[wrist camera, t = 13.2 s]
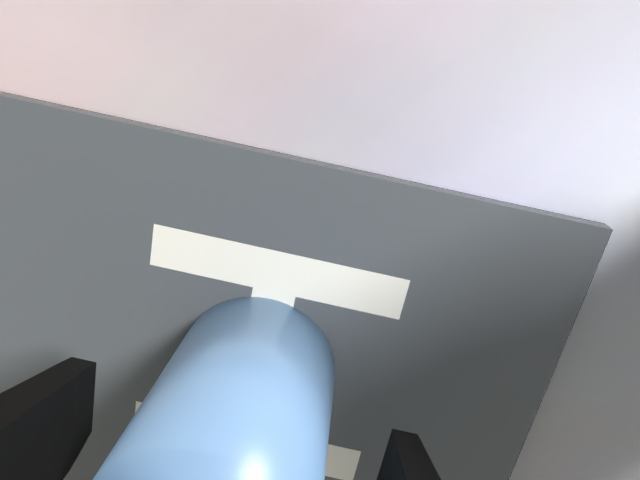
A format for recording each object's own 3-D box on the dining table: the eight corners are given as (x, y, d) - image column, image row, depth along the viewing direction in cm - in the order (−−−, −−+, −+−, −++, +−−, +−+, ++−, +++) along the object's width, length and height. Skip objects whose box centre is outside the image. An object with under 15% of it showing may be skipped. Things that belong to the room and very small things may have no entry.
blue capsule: (347, 312, 15) (334, 475, 9) (322, 443, 16) (297, 653, 11) (187, 284, 15) (75, 427, 9) (177, 416, 16) (75, 609, 11)
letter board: (604, 223, 14) (612, 229, 13) (420, 672, 20) (421, 687, 19) (-73, 75, 14) (-88, 76, 13) (-48, 565, 20) (-58, 578, 20)
